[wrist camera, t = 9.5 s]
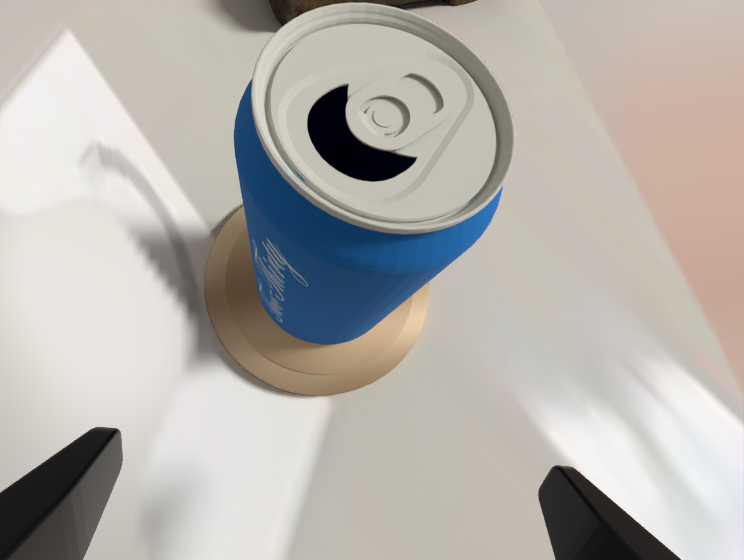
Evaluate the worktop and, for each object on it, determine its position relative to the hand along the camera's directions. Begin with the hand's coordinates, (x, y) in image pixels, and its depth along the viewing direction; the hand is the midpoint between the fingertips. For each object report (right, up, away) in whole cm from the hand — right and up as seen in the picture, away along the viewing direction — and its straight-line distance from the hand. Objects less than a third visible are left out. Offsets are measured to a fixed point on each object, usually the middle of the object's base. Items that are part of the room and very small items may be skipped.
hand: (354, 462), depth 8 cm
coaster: (-2, +4, +12) cm, 12 cm away
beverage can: (-2, +4, +11) cm, 12 cm away
